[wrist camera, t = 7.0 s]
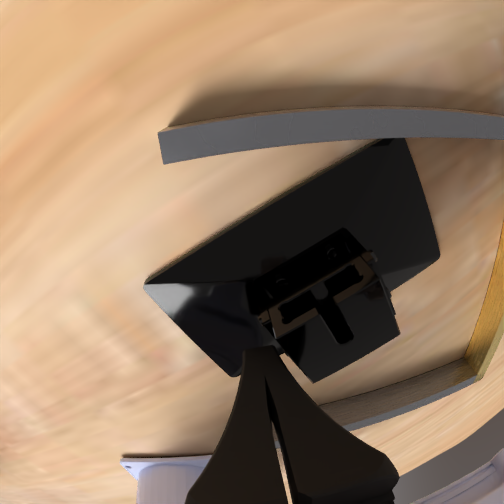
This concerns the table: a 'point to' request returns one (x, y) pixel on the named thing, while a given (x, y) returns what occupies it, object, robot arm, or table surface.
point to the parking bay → (353, 128)
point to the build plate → (308, 267)
